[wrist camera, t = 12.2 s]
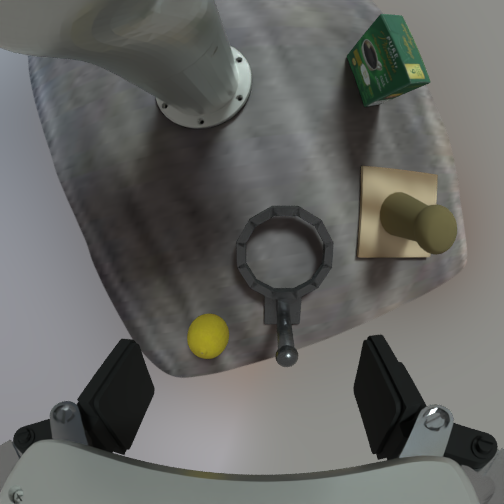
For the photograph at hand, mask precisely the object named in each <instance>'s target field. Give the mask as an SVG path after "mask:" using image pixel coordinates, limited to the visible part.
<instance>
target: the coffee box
mask: <svg viewBox="0 0 504 504" xmlns="http://www.w3.org/2000/svg"><path fill="white" fill-rule="evenodd" d="M347 59H348V61H349V64H350V67H351V70H352V72H353V74H354V77H355V80H356V83H357V86H358V89H359V92H360V95H361V98H362V101H363V104H364V107H368V106H374V105H379V104H382V103H384V102H387V101H389V100H391V99H393V98H395V97H398V96H400V95H402V94H405V93H407V92H409V91H412V90H414V89H417V88H419V87H421V86H424V85H426V84H428V83H430V79H429V76H428V74H427V71H426V68H425V65H424V63H423V60H422V58H421V55H420V53H419V50H418V48H417V46H416V44H415V41H414V39H413V37H412V35H411V32H410V31H409V29H408V26H407V25H406V22H405V21H404V18H403V17H402V16H400V15H389V14H381V15H380V16H379V17H378V18H377V19H376V20H375V22H374V23H373V24H372V25H371V26H370V28H369V29H368V30H367V31H366V32H365V34H364V35H363V36H362V37H361V39H360V40H359V41H358V42H357V44H356V45H355V46H354V47H353V49H352V50H351V51H350V52H349V54H348V55H347Z"/></svg>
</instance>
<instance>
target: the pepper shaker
mask: <svg viewBox="0 0 504 504" xmlns="http://www.w3.org/2000/svg"><path fill="white" fill-rule="evenodd" d="M380 221H381V224H382V226H383V228H384V229H385V231H386V232H388V233H389V234H390V235H394V236H397V237H401V238H405V239H408V240H412V241H416V242H417V243H418V245H419V246H420V247H421V248H422V249H423V250H424V251H426V252H427V253H431V254H441V253H443V252H445V251H447V250H448V249H449V248H450V247H451V246H452V245H453V243H454V241H455V238H456V235H457V224H456V220H455V218H454V216H453V214H452V213H451V212H450V211H449V210H448V209H447V208H446V207H443V206H441V205H429V206H428V205H426V204H424V203H423V202H421V201H419V200H417V199H415V198H414V197H412V196H410V195H408V194H406V193H403V192H395V193H393V194H390V195H389V196H388V197H387V198H386V199H385V200H384V202H383V204H382V205H381V210H380Z"/></svg>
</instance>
